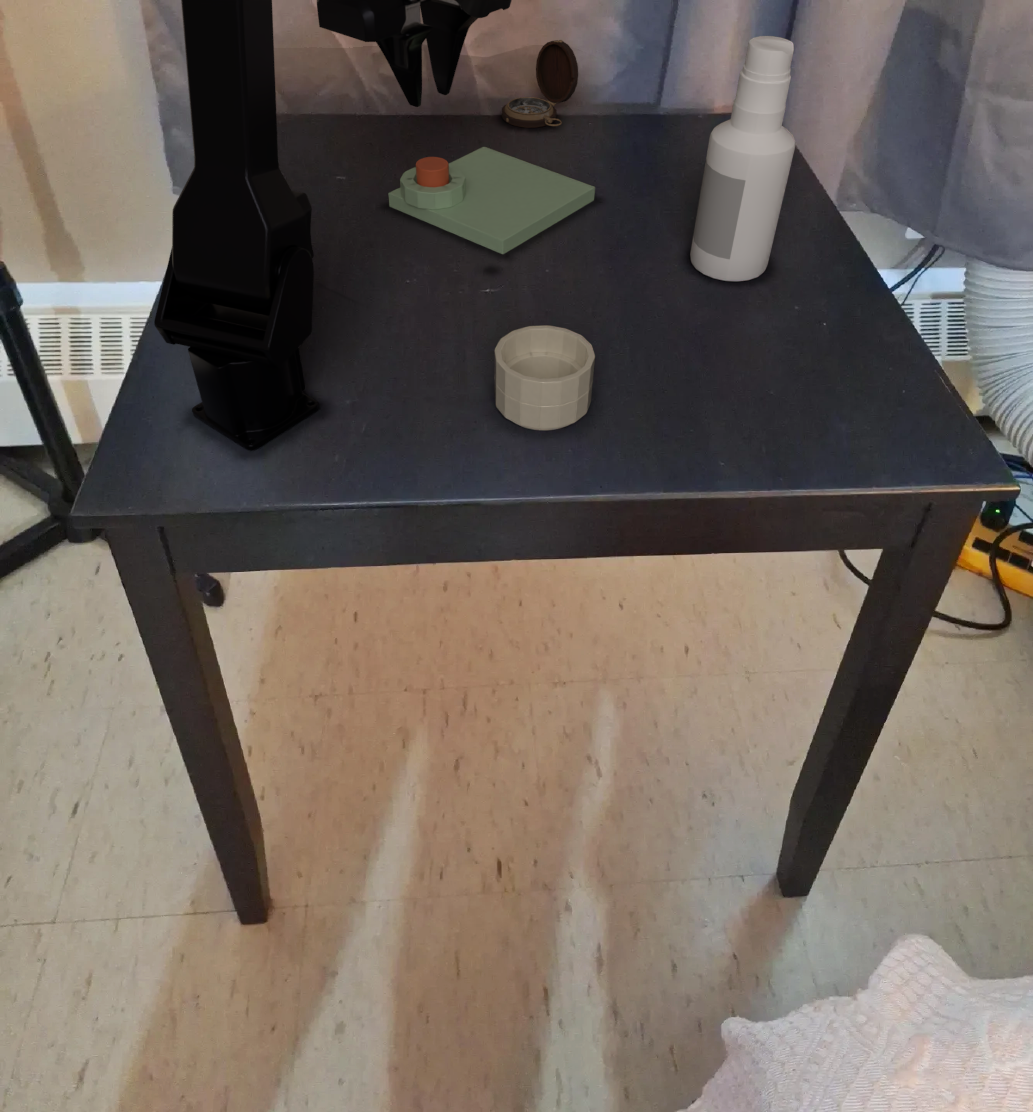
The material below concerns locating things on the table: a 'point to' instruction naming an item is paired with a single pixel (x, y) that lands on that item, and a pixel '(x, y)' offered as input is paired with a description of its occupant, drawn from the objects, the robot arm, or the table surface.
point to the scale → (493, 199)
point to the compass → (546, 88)
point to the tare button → (432, 172)
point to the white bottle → (746, 169)
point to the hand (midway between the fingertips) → (429, 99)
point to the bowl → (543, 377)
